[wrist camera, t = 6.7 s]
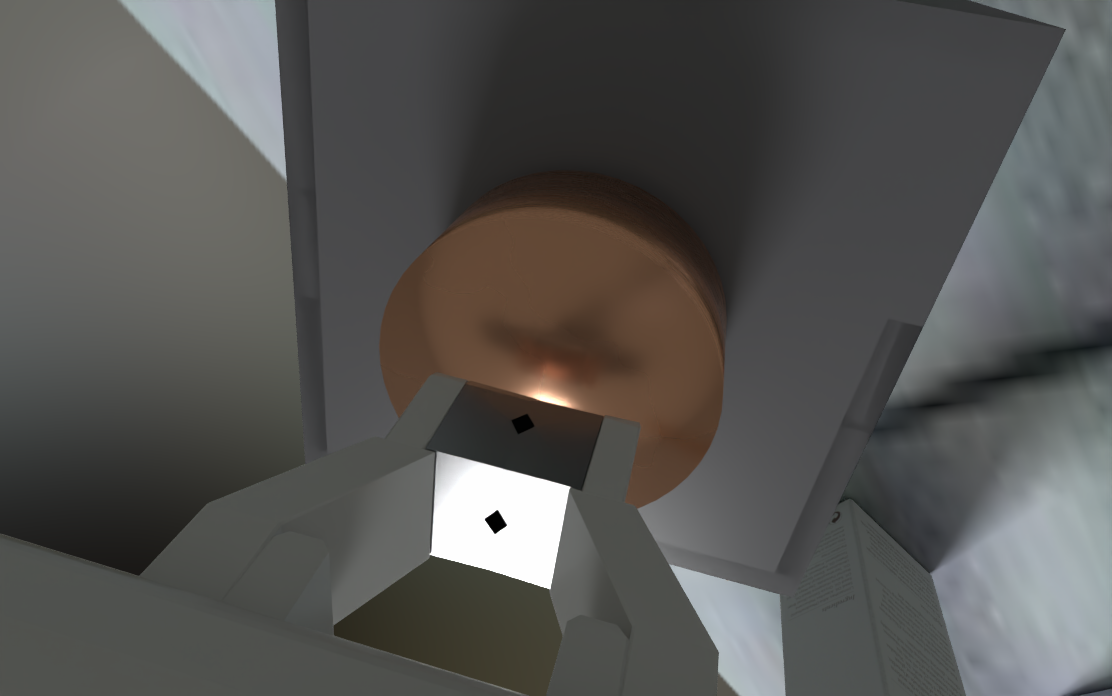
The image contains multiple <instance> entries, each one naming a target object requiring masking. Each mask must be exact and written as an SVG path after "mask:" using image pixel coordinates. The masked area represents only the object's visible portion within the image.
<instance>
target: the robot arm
mask: <svg viewBox="0 0 1112 696" xmlns="http://www.w3.org/2000/svg"><path fill="white" fill-rule="evenodd" d="M640 430H641V425H640V423H639V422H635V421H630V420H626V419H621V418H617V417H612V416H608V415H605V417H604V416H602V415H598V414H594V413H590V412H586V411H582V410H578V409H574V408H570V407H566V406H562V405H558V404H554V403H550V402H545V401H541V400H537V399H536V398H532V397H528V396H525V395H521V394H517V393H514V392H510V391H507V390H503V389H499V388H496V387H492V386H488V385H485V384H481V383H477V382H474V381H468V380H466V379H462V378H458V377H454V376H450V375H446V374H442V373H439V372H436V373H434V374H432V375H430V376H429V377H428V378H427V380H426V381H425V383H424V384H423V386H422V387H421V388H420V390H419V391H418V393H417V394H416V395H415V397H414V398H413V400H412V401H411V402H410V404H409V405H408V407H407V408H406V409H405V411H404V412H403V414H402V415H401V416H400V418H399V419H398V421H397V422H396V423H395V425H394V426H393V428H392V429H391V430H390V432H389V433H388V435H387V436H386V437H385V439H383V438H379V437H376V436H374V437H372V438H369V439H367V440H364V441H362V442H359V443H357V444H354V445H352V446H349V447H347V448H344V449H342V450H339V451H337V452H334V453H332V454H329V455H327V456H324V457H322V458H319V459H317V460H314V461H312V462H310V463H307V464H305V465H302V466H300V467H297V468H295V469H292V470H290V471H287V472H285V473H282V474H280V475H277V476H275V477H273V478H270V479H267V480H265V481H262V482H260V483H258V484H255V485H252V486H250V487H247V488H245V489H242V490H240V491H238V492H235V493H232V494H230V495H228V496H225V497H223V498H220V499H218V500H215V501H213V502H210V503H208V504H207V505H206V506H205V507H204V508H203V509H202V510H201V511H200V512H199V513H198V514H197V515H196V516H195V517H194V519H193V520H192V521H191V522H190V523H189V524H188V525H187V526H186V527H185V528H184V529H183V530H182V531H181V532H180V533H179V534H178V535H177V537H176V538H175V539H174V540H173V541H172V542H171V543H170V544H169V545H168V546H167V547H166V548H165V549H164V550H163V552H162V553H161V554H160V555H159V556H158V557H157V558H156V559H155V560H154V561H153V562H152V563H151V564H150V565H149V566H148V568H146V570H145V571H144V572H143V573H142V574H141V575H140V576H136V575H133V574H130V573H127V572H123V571H120V570H117V569H114V568H110V567H107V566H104V565H101V564H97V563H94V562H90V561H87V560H84V559H81V558H78V557H74V556H71V555H68V554H65V553H61V552H58V551H54V550H51V549H48V548H45V547H41V546H38V545H35V544H32V543H29V542H25V541H22V540H19V539H16V538H12V537H9V536H6V535H3V534H0V696H528V695H525V694H522V693H518V692H515V691H512V690H508V689H505V688H502V687H499V686H495V685H492V684H489V683H486V682H483V681H479V680H476V679H472V678H469V677H466V676H463V675H460V674H456V673H453V672H450V671H447V670H443V669H440V668H437V667H433V666H430V665H427V664H424V663H420V662H417V661H414V660H410V659H407V658H404V657H401V656H397V655H394V654H391V653H388V652H385V651H381V650H378V649H375V648H372V647H368V646H365V645H362V644H359V643H355V642H352V641H349V640H345V639H342V638H339V637H336V636H334V633H333V625H334V624H336V623H337V622H339V621H340V620H342V619H343V618H344V617H346V616H347V615H349V614H350V613H352V612H353V611H354V610H356V609H357V608H359V607H360V606H362V605H363V604H364V603H366V602H367V601H369V600H370V599H371V598H373V597H374V596H376V595H377V594H379V593H380V592H382V591H383V590H384V589H386V588H387V587H389V586H390V585H392V584H393V583H394V582H396V581H397V580H399V579H400V578H401V577H403V576H404V575H406V574H407V573H408V572H410V571H411V570H413V569H414V568H416V567H417V566H419V565H420V564H421V563H423V562H424V561H425V560H427V559H429V554H430V555H434V556H438V557H442V558H446V559H450V560H454V561H458V562H462V563H465V564H469V565H473V566H477V567H481V568H485V569H489V570H492V571H495V572H498V573H502V574H505V575H508V576H511V577H514V578H517V579H521V580H524V581H527V582H530V583H533V584H537V585H540V586H543V587H546V588H549V589H550V595H551V598H552V602H553V605H554V608H555V612H556V615H557V618H558V621H559V625H560V628H561V632H562V635H563V639H562V642H561V645H560V650H559V653H558V656H557V660H556V664H555V667H554V671H553V674H552V678H551V681H550V684H549V688H548V692H547V695H546V696H717V677H718V656H719V652H718V650H717V648H716V646H715V645H714V643H713V641H712V639H711V638H710V636H709V634H708V632H707V631H706V629H705V627H704V625H703V624H702V622H701V620H700V618H699V617H698V615H697V613H696V611H695V610H694V608H693V606H692V604H691V603H690V601H689V599H688V597H687V596H686V594H685V592H684V590H683V589H682V587H681V585H680V583H679V581H678V580H677V578H676V576H675V574H674V573H673V571H672V569H671V567H670V566H669V564H668V562H667V560H666V559H665V557H664V555H663V553H662V552H661V550H660V548H659V546H658V545H657V543H656V541H655V539H654V538H653V536H652V534H651V532H650V531H649V529H648V527H647V525H646V524H645V522H644V520H643V518H642V516H641V515H640V513H639V511H638V509H637V508H636V506H634V505H631V504H628V503H625V499H626V494H627V490H628V485H629V480H630V476H631V471H632V467H633V462H634V457H635V453H636V448H637V444H638V439H639V434H640Z"/></svg>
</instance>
